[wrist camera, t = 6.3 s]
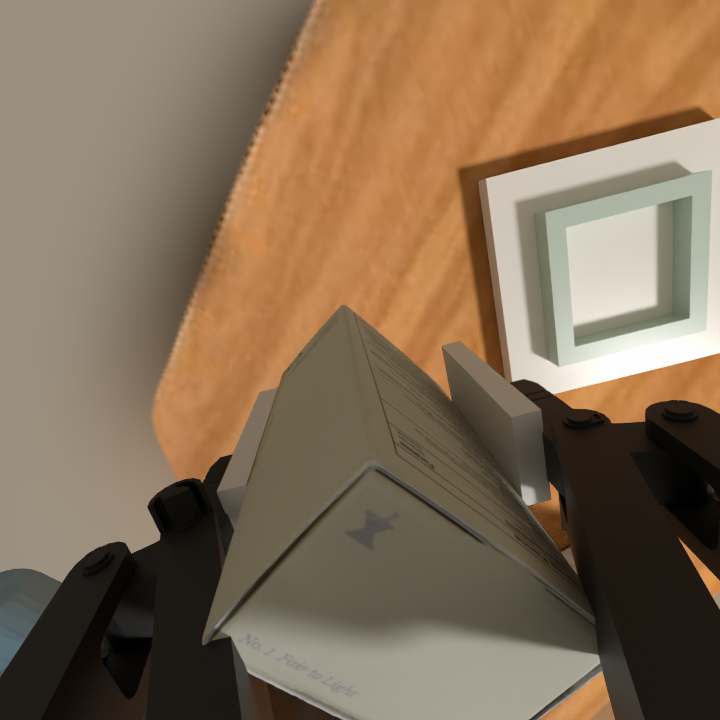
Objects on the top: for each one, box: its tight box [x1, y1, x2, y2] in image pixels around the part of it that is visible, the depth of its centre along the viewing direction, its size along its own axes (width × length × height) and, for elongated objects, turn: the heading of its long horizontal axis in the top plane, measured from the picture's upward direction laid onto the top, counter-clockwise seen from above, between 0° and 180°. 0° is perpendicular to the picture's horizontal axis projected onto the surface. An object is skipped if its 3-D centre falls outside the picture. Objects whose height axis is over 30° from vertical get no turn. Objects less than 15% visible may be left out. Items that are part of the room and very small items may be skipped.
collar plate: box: [478, 118, 720, 394], centre depth 28 cm, size 16×16×3 cm
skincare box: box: [202, 305, 603, 720], centre depth 12 cm, size 6×4×12 cm
